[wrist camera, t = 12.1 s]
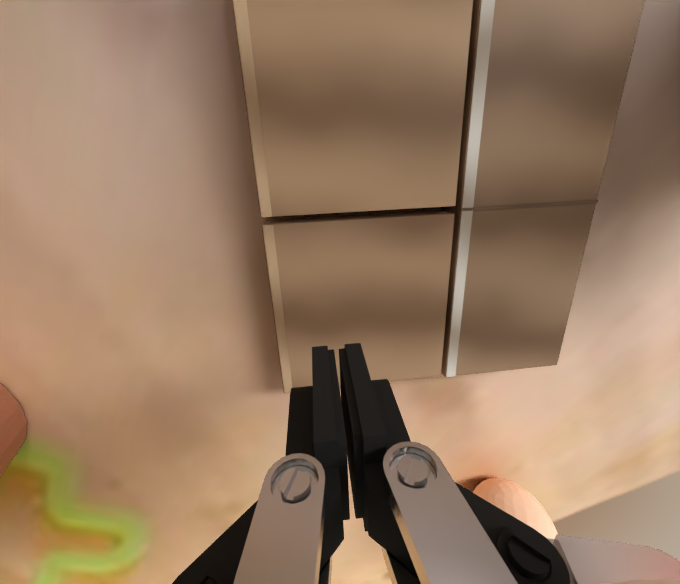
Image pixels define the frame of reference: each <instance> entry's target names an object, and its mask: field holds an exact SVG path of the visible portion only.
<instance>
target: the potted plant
mask: <svg viewBox="0 0 680 584" xmlns="http://www.w3.org/2000/svg"><path fill="white" fill-rule="evenodd" d="M26 431H27V421H26V418H25V416H24V413H23V411H22V408H21V406H20V404H19V403H18V402H17V401H16V399H15V398H14V397H13V396H12V395H11V393H10V392H9V391H8V390H7V389H6V388H5V387H4V386H3V385H1V384H0V477H1V475H2V474H3V472H4V471H5V470H6V468H7V467H8V465H9V464H10V462H11V461H12V460H13V458H14V457H15V455H16V454H17V452H18V451H19V449H20V448H21V446H22V444H23V443H24V441H25V439H26Z"/></svg>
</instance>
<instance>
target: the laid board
mask: <svg viewBox="0 0 680 584" xmlns="http://www.w3.org/2000/svg"><path fill="white" fill-rule="evenodd" d="M644 2H645V0H473V7H472V19H471V31H470V42H469V54H468V65H467V77H466V89H465V100H464V112H463V123H462V135H461V147H460V158H459V170H458V181H457V193H456V205H455V206H446V207H445V208H444V211H447V212H450V213H454V214H455V216H454V228H453V239H452V251H451V263H450V274H449V286H448V298H447V309H446V321H445V332H444V344H443V356H442V367H441V371H442V373H443V374H444V376H445V377H453V376H456V375H466V374H475V373H485V372H494V371H504V370H513V369H522V368H532V367H541V366H551V365H557V362H558V358H559V354H560V349H561V345H562V341H563V337H564V333H565V329H566V325H567V320H568V316H569V312H570V308H571V304H572V300H573V296H574V291H575V287H576V283H577V279H578V275H579V271H580V267H581V262H582V258H583V254H584V250H585V246H586V242H587V238H588V233H589V229H590V225H591V221H592V217H593V213H594V209H595V204H596V203H597V201H598V200H597V196H598V192H599V188H600V184H601V180H602V175H603V171H604V167H605V163H606V159H607V155H608V151H609V147H610V142H611V138H612V134H613V130H614V126H615V122H616V118H617V113H618V109H619V105H620V101H621V97H622V93H623V89H624V84H625V80H626V76H627V72H628V68H629V64H630V60H631V55H632V51H633V47H634V43H635V39H636V35H637V31H638V26H639V22H640V18H641V14H642V10H643V6H644Z"/></svg>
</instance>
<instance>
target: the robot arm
mask: <svg viewBox="0 0 680 584" xmlns="http://www.w3.org/2000/svg"><path fill="white" fill-rule="evenodd" d="M339 365H340V385H341V397H340V390H339V382H338V375H337V368H336V360H335V353H334V349H331V350H328V346H316V347H312V382H313V386H305V387H294V388H291V393H290V405H289V418H288V431H287V444H286V456H285V457H282V458H281V459H280V460H278V461H277V462H275V463H274V464H273V465H272V467H271V468H270V469H269V470H268V472H267V474H266V476H265V479H264V482H263V485H262V489H261V492H260V495H259V499H258V501H257V502H256V503H254V504H253V505H252V506H251V507H250V508H249V509H248V510H247V511H246V512H245V513H244V514H243V515H242V516H241V517H240V518H239V519H238V520H237V521H236V522H235V523H234V524H233V525H231V526H230V527H229V528H228V529H227V530H226V531H225V532H224V533H223V534H222V535H221V536H220V537H219V538H218V539H217V540H216V541H215V542H214V543H213V544H212V545H211V546H210V547H208V548H207V549H206V550H205V551H204V552H203V553H202V554H201V555H200V556H199V557H198V558H197V559H196V560H195V561H194V562H193V563H192V564H191V565H190V566H189V567H188V568H187V569H185V570H184V571H183V572H182V573H181V574H180V575H179V576H178V577H177V579H176V580H175V581H174V582H173V583H172V584H331V571H332V555H333V553H334V552H335V550H336V549H337V548H338V546H339V545H340V544H341V542H342V541H343V539H344V530H343V520H348V519H350V513H349V491H348V468H347V457H348V464H349V472H350V479H351V487H352V494H353V502H354V510H355V516H356V518H363V521H364V528H365V531H368V534H369V536H370V537H371V538H372V539H374V540H375V541H376V542H377V543H378V544H380V545H381V546H382V552H383V556H384V560H385V563H386V566H387V569H388V572H389V575H390V578H391V581H392V584H680V561H679V560H677V559H676V558H674V557H673V556H671V555H669V554H667V553H665V552H663V551H662V550H659V549H655V548H651V547H648V546H641V545H634V544H627V543H619V542H611V541H603V540H595V539H588V538H580V537H572V536H564V535H556V537H555V539H549V538H546V537H545V536H543V535H542V534H541V533H539V532H538V531H536V530H535V529H534V528H532V527H530V526H528V525H527V524H525V523H523V522H522V521H520V520H518V519H517V518H515V517H513V516H511V515H510V514H508V513H506V512H505V511H503V510H501V509H500V508H498V507H496V506H495V505H493V504H491V503H489V502H488V501H486V500H484V499H483V498H481V497H479V496H478V495H476V494H474V493H472V492H471V491H469V490H467V489H466V488H464V487H462V486H461V485H459V484H457V483H455V482H454V480H453V479H452V477H451V476H450V474H449V472H448V471H447V469H446V468H445V466H444V464H443V463H442V461H441V460H440V458H439V457H438V456H437V455H436V453H435V452H434V451H432V450H431V449H430V448H428V447H427V446H425V445H422V444H420V443H416V442H411V441H410V438H409V436H408V433H407V430H406V427H405V425H404V422H403V419H402V416H401V414H400V411H399V408H398V405H397V403H396V400H395V397H394V394H393V392H392V389H391V386H390V383H389V381H388V380H387V379H380V380H371V378H370V375H369V371H368V368H367V364H366V361H365V357H364V354H363V350H362V347H361V343H352V344H345V345H344V348H342V349H339Z"/></svg>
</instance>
